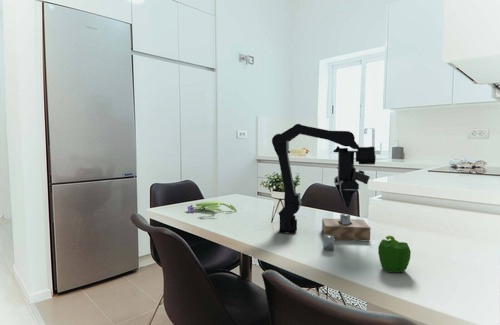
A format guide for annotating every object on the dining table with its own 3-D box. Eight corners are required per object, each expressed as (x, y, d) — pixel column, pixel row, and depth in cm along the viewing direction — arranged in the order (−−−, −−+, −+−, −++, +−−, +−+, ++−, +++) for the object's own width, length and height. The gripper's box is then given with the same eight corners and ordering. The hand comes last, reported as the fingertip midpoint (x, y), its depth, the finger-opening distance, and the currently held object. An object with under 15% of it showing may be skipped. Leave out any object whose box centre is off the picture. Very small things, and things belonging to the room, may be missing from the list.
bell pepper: (399, 263, 94) (400, 230, 93) (415, 275, 85) (416, 239, 85) (371, 264, 93) (372, 231, 93) (384, 276, 85) (385, 239, 84)
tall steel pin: (340, 236, 121) (341, 215, 120) (339, 234, 124) (339, 213, 124) (350, 237, 120) (350, 216, 120) (348, 234, 124) (349, 214, 123)
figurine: (214, 219, 149) (214, 208, 148) (179, 211, 166) (179, 201, 166) (241, 213, 163) (241, 202, 162) (206, 206, 180) (206, 196, 180)
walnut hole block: (325, 239, 117) (325, 226, 117) (322, 230, 129) (322, 218, 129) (370, 241, 115) (370, 227, 115) (362, 231, 127) (363, 219, 127)
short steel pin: (323, 251, 105) (323, 237, 104) (322, 247, 108) (322, 234, 108) (334, 251, 104) (335, 238, 104) (333, 247, 108) (333, 235, 108)
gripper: (374, 166, 110) (373, 210, 111) (362, 162, 129) (361, 200, 130) (341, 166, 112) (340, 209, 113) (334, 162, 130) (333, 200, 131)
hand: (345, 204), depth 121 cm, fingers open, 9 cm apart
